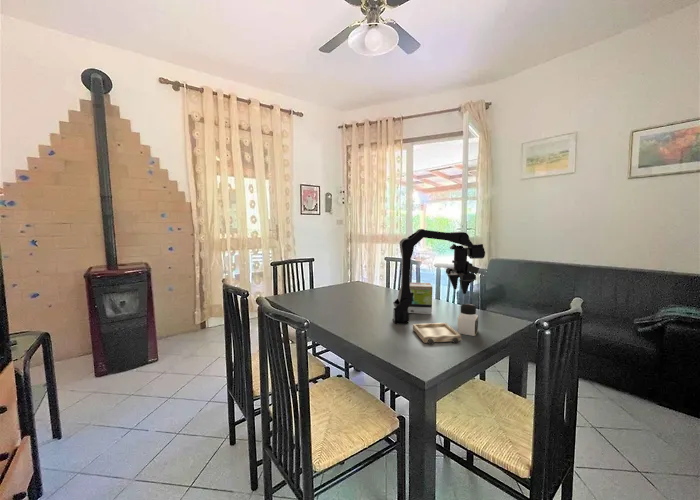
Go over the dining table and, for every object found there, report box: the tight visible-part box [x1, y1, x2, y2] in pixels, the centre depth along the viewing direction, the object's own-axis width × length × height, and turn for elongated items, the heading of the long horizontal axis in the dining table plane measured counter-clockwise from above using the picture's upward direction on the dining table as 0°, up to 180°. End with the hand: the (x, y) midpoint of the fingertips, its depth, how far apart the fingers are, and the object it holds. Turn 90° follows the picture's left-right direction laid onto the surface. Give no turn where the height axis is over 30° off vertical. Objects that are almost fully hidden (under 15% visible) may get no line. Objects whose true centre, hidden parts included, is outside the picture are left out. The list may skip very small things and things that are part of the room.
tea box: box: [408, 281, 433, 315], centre depth 160 cm, size 15×10×15 cm, turn 82°
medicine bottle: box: [456, 303, 479, 337], centre depth 129 cm, size 7×7×12 cm
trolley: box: [412, 322, 462, 345], centre depth 126 cm, size 15×17×3 cm
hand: (459, 291), depth 143 cm, fingers open, 9 cm apart
